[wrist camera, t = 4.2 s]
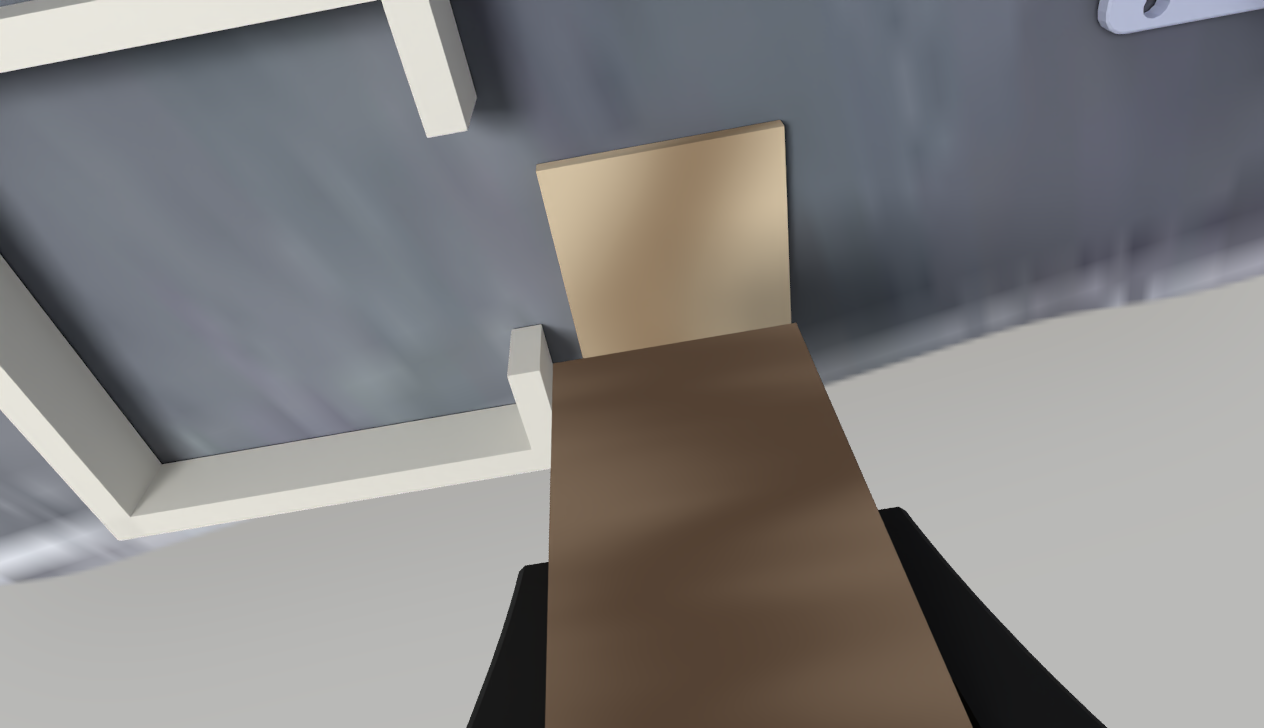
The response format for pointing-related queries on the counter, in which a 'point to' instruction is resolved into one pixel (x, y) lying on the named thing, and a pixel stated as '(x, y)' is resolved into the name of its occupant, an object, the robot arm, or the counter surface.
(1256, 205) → the counter surface
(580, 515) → the walnut block
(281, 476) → the white open square frame
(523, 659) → the robot arm
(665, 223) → the cork trivet
